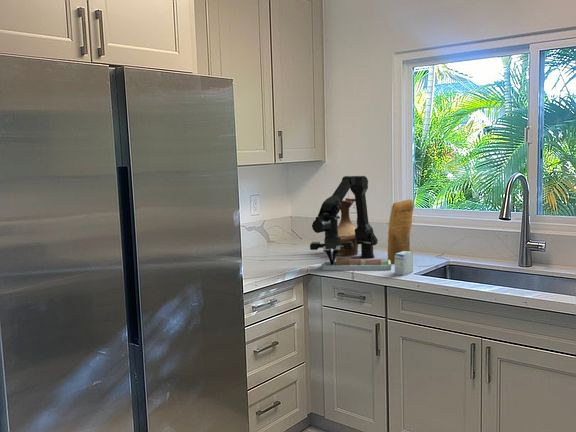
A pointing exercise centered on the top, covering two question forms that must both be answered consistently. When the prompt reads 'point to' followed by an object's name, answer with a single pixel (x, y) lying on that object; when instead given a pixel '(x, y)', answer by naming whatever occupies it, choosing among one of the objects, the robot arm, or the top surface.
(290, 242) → the top surface
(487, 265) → the top surface
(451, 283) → the top surface
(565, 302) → the top surface
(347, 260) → the block
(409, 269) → the medicine box
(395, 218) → the pancake mix bag
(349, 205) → the pitcher
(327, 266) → the trap box
